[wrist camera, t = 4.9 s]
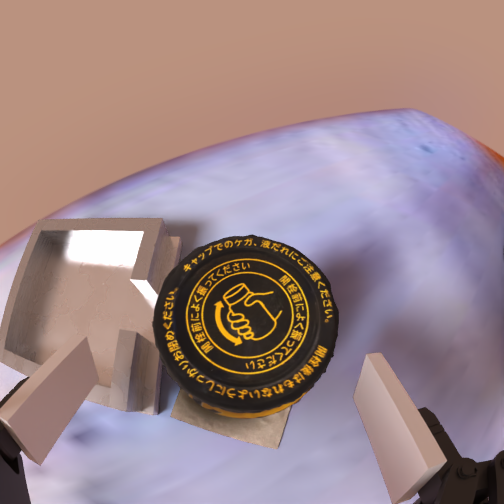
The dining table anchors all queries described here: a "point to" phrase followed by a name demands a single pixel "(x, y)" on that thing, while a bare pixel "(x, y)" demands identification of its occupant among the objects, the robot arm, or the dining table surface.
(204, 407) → the condiment
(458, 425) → the dining table surface
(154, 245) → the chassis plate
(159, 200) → the dining table surface
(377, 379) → the robot arm
